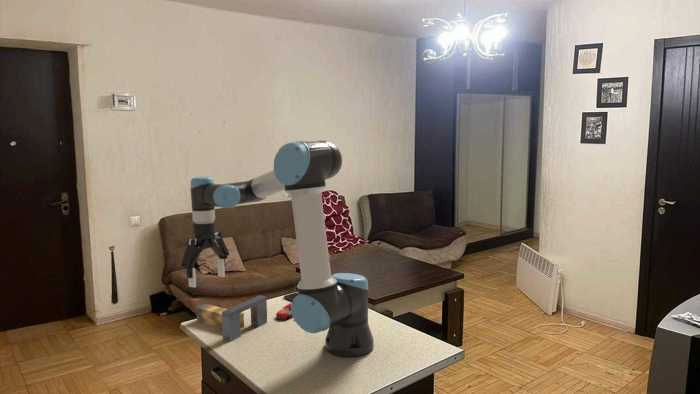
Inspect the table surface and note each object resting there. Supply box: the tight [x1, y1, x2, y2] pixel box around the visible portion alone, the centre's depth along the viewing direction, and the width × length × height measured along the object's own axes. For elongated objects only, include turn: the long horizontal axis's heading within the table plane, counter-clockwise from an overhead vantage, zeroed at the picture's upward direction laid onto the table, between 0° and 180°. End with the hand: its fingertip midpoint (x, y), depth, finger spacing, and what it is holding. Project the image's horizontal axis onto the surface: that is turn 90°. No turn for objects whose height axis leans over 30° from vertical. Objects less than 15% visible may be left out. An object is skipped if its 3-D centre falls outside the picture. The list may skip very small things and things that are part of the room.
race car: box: [275, 302, 293, 321], centre depth 190 cm, size 13×5×4 cm, turn 142°
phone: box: [283, 291, 298, 303], centre depth 205 cm, size 8×1×15 cm
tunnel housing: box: [222, 294, 268, 342], centre depth 175 cm, size 3×18×10 cm, turn 149°
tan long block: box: [195, 303, 245, 330], centre depth 181 cm, size 18×5×5 cm, turn 59°
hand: (207, 281), depth 182 cm, fingers open, 13 cm apart
